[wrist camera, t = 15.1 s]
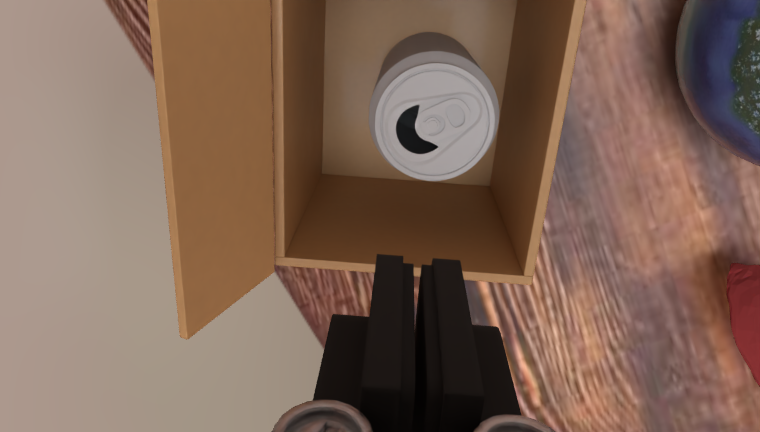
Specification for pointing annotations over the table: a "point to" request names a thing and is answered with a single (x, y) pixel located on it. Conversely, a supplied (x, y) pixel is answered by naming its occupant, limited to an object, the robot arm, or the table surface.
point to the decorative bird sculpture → (746, 312)
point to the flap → (215, 148)
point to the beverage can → (432, 108)
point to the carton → (379, 178)
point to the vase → (722, 71)
